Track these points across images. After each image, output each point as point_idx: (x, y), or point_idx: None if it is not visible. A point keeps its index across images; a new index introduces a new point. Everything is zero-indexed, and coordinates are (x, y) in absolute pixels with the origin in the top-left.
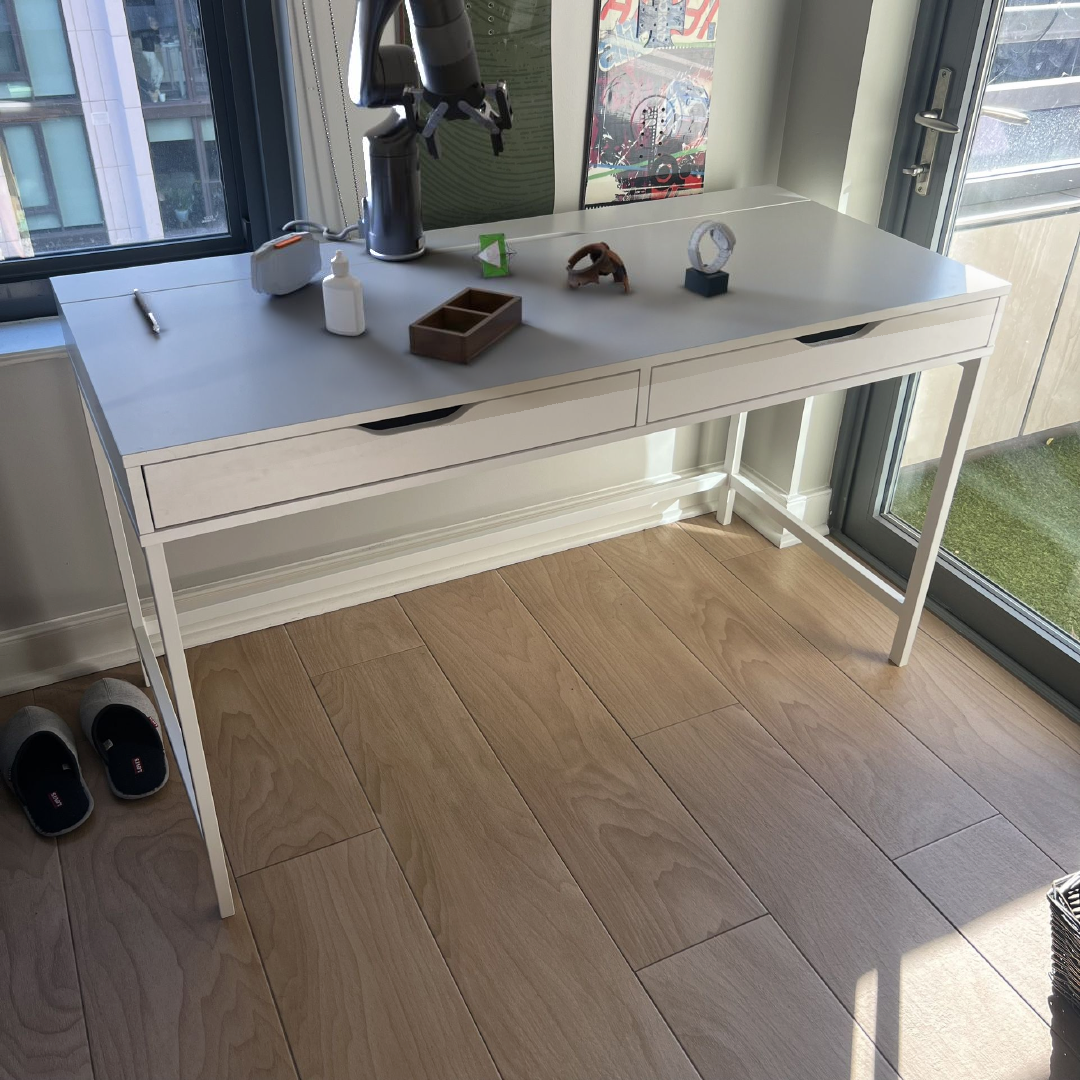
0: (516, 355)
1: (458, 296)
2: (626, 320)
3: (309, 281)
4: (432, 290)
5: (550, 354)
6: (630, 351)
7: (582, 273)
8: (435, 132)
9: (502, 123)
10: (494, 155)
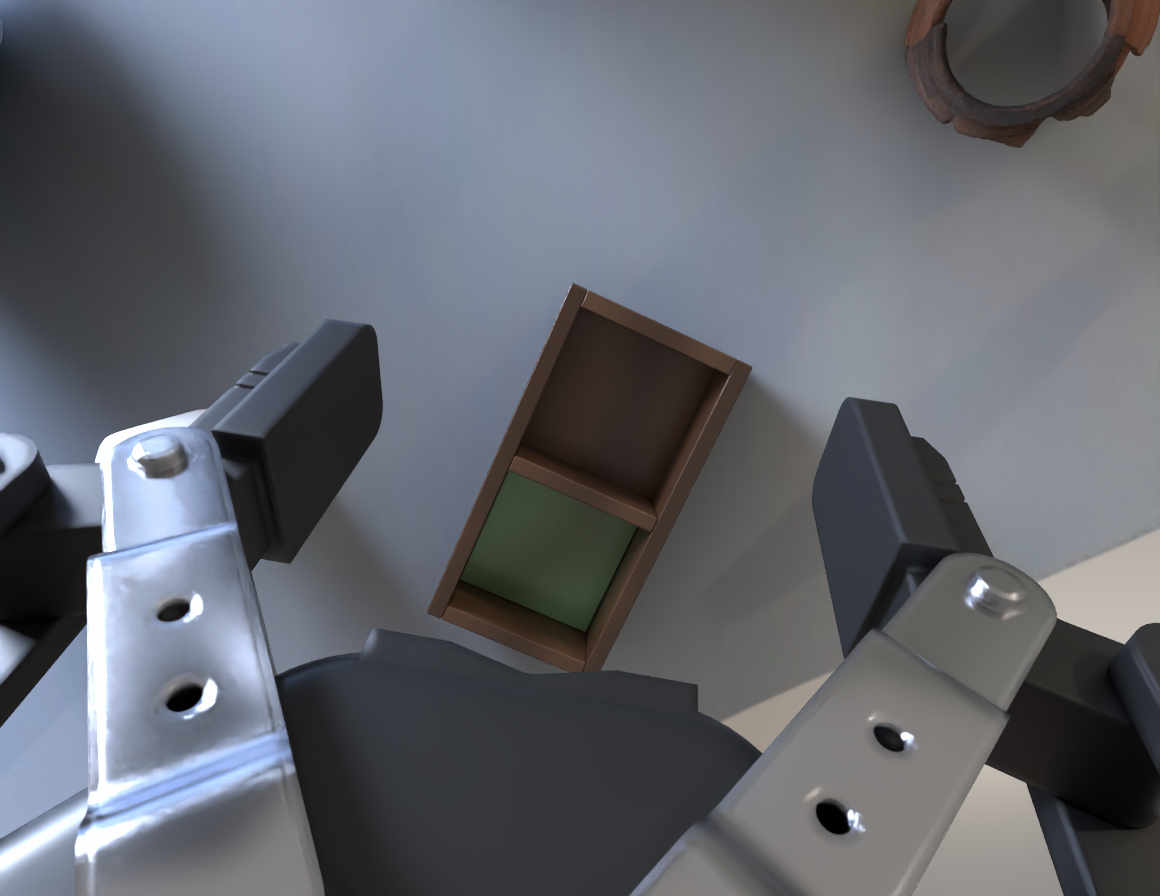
0: (715, 583)
1: (547, 376)
2: (1044, 327)
3: (1, 31)
4: (437, 81)
5: (802, 574)
6: (1013, 547)
7: (980, 123)
8: (279, 487)
9: (1039, 822)
10: (813, 505)
